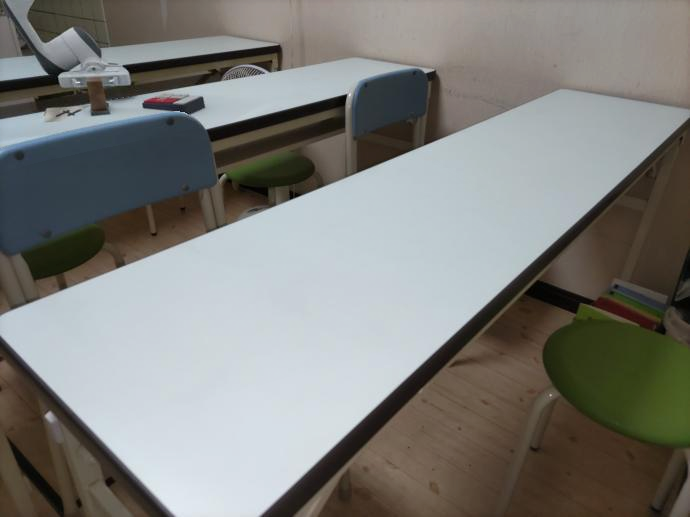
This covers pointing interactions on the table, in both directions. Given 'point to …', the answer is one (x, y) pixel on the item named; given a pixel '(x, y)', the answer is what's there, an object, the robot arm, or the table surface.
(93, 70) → the robot arm
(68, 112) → the marker scribble
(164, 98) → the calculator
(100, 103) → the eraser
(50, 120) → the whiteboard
